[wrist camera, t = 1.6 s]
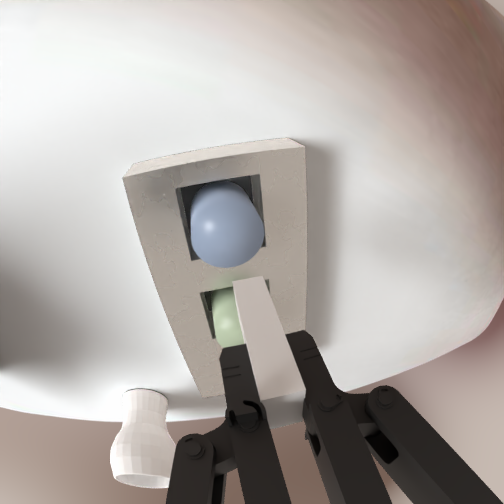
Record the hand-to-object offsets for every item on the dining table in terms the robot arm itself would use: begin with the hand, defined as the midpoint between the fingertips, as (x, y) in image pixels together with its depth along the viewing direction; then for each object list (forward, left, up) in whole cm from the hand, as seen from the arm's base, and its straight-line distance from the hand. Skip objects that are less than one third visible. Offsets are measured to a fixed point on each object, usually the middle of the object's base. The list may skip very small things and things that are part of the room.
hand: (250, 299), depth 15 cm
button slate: (0, 0, -12) cm, 12 cm away
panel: (0, -10, -14) cm, 18 cm away
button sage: (0, -10, -12) cm, 16 cm away
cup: (-18, -31, -15) cm, 39 cm away
